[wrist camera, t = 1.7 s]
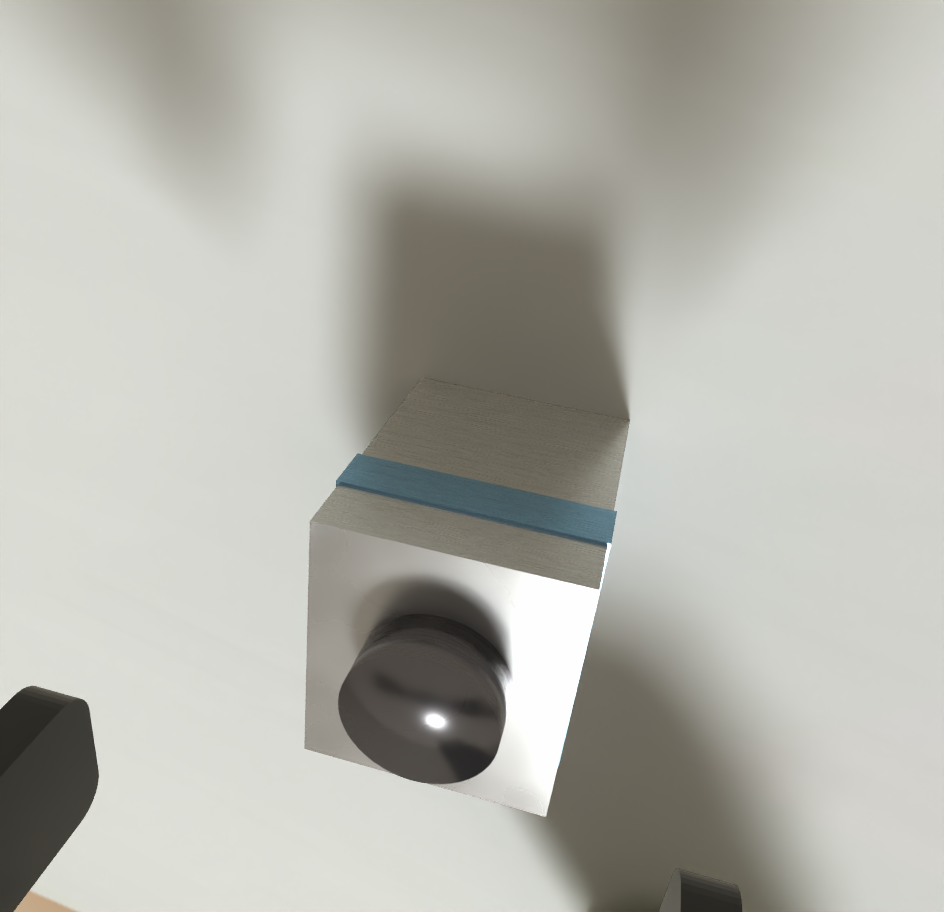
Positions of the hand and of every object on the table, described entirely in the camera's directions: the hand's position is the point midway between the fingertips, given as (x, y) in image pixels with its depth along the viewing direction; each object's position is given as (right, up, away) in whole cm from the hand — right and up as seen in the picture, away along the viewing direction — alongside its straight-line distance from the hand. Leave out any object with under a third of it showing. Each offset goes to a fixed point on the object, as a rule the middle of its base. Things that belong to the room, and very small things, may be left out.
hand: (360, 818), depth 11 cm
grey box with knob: (+2, +4, +8) cm, 9 cm away
